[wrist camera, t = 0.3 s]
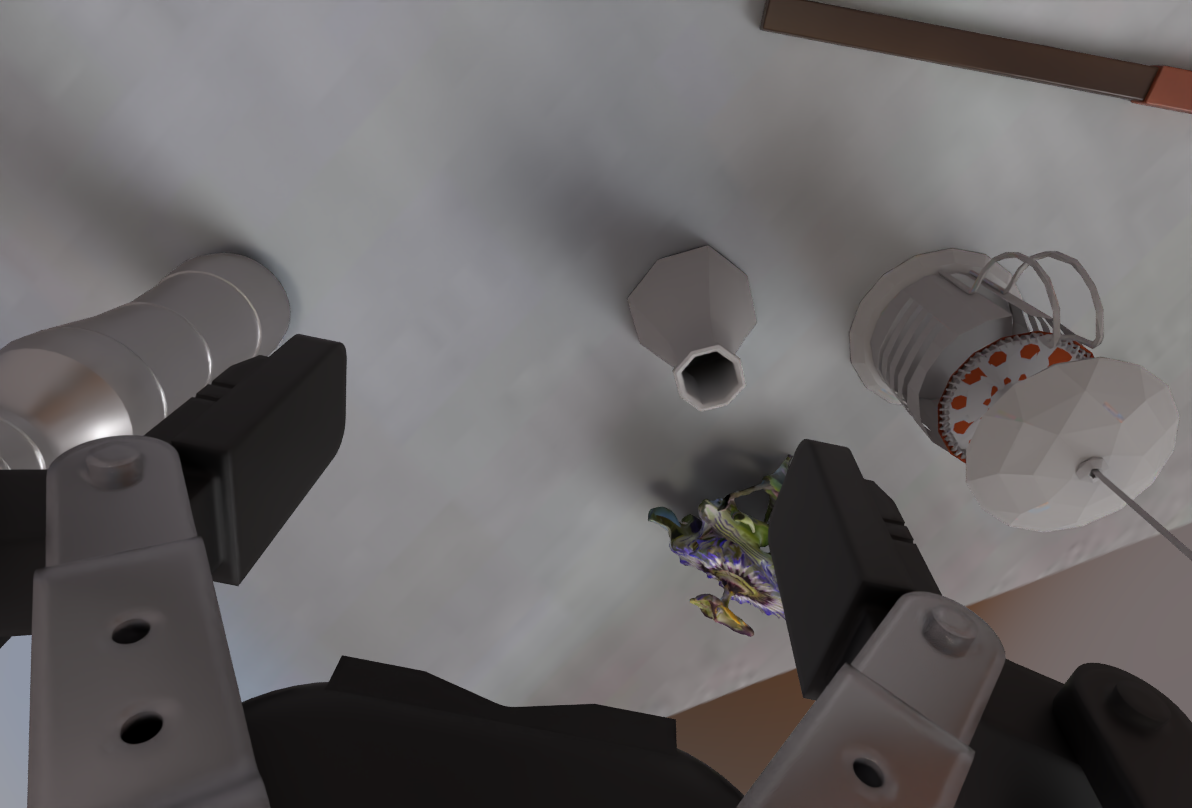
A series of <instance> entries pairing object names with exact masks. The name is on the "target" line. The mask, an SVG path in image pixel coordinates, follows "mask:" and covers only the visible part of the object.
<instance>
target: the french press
mask: <svg viewBox="0 0 1192 808" xmlns="http://www.w3.org/2000/svg"><path fill="white" fill-rule="evenodd" d="M1045 257H1051V258H1054V259H1057V260H1060V261H1063V262H1066V263H1069V264H1071V265H1072V266H1073V267H1074V268H1075V269H1076V270H1077V272H1078V273H1079V274H1080V275H1081V276H1082V278H1083V279H1084V281H1085V283H1086V285H1087V286H1088V288H1089V290H1090V292H1091V295H1092V299H1093V303H1094V306H1095V310H1096V338H1095V340H1094V341H1090V340H1087V339H1085V338H1083V337H1080V336H1078V335H1076V334H1074V333H1073V332H1071V331H1070V330H1069V329H1067V328H1066V327H1064V326H1063V325H1062V324H1060V307H1059V304H1058V301H1057V298H1056V295H1055V292H1054V289H1053V286H1052V283H1051V280H1050V277H1049V276H1048V275H1047V274H1046V272H1045V271H1044V270H1043V269H1042V267H1041V266H1040V265H1039V264H1038V262H1037V261H1036V260H1039V259H1042V258H1045ZM1005 258H1018V259H1020V260H1021V261H1023V262H1024V263H1023V264H1022V265H1021V266H1020V267H1019V268H1018V269H1017V271H1016V272H1015V274H1014V276H1013V277H1012V275H1011V273H1010V272H1009V271H1007V270H1006V269H1004V268H1003V267H1002V266H1000V265H999V264H998V263H996V262H997V261H1000V260H1002V259H1005ZM1029 265H1030V266H1032V267H1033V268H1034V270H1035V271H1036V273H1037V274H1038V276H1039V277H1040V278H1041V280H1042V281H1043V283H1044V284H1045V287H1046V291H1047V294H1048V297H1049V300H1050V304H1051V307H1052V310H1053V318H1051V317H1050V316H1048V315H1046V314H1045V313H1043V312H1041V311H1040V310H1038V309H1036V308H1035V307H1033V306H1031V305H1030V304H1028V303H1026V302H1025V301H1023V299H1022V297H1021V294H1020V292H1019V290H1018V288H1017V286H1016V284H1015V283H1016V281H1017V280H1018V278H1019V277H1020V276H1021V274H1022V273H1023V271H1024V270H1025V269H1026V268H1027V267H1028V266H1029ZM1023 311H1024V312H1026V313H1027V314H1028V317H1029V320H1030V322H1031V325H1032V328H1033V331H1034V332H1030V330H1029V327H1028V324H1027V321H1026V318H1025V316H1024V313H1023ZM1033 316H1036V317H1037V318H1038V320H1039V321H1040V322H1041V325H1042V328H1043V331H1044V332H1043V331H1039V328H1038V326H1037V323H1036V321H1035V318H1034V317H1033ZM1041 317H1042V318H1045V319H1046V321H1047V322H1048V323H1049V324H1050V326H1051V327H1052V328H1053V333H1050V331H1049V328H1048V326H1047V324H1046V323H1045V322H1044V320H1043V319H1042V318H1041ZM1060 329H1061V330H1062V331H1063V333H1064V334H1065V335H1062V334H1061V332H1060ZM849 337H850V351H851V363H852V365H853V366H854V368H855V370H856V372H857V373H858V375H859V377H860V378H861V380H862V382H863V383H864V385H865V387H866V388H868V389H869V390H871V391H873V392H874V393H876V394H877V395H879V396H880V397H882V398H883V399H885V400H886V401H888V402H889V403H894V404H900V405H904V407H905V409H906V410H907V411H908V412H909V413H910V415H912V416H913V418H914V420H915V421H916V423H917V424H918V425H919V426H920V427H921V429H922V430H923V431H924V432H925V433H926V435H927V436H928V437H929V438H930V439H931V441H932V442H934V443H935V444H937V445H938V446H940V447H942V448H943V449H945V450H946V451H948V452H950V454H952V455H953V456H955V457H956V458H958V459H959V460H961V461H963V462H964V463H966V483H967V485H968V486H969V488H970V490H971V492H972V493H973V495H974V497H975V498H976V500H977V502H978V503H979V505H980V507H981V508H982V509H983V510H984V511H986V512H987V513H989V514H991V515H992V516H994V517H995V518H997V519H998V520H1000V521H1001V522H1003V523H1005V524H1006V525H1008V526H1011V527H1016V528H1022V529H1028V530H1034V531H1039V532H1049V531H1056V530H1063V529H1069V528H1076V527H1082V526H1084V525H1086V524H1089V523H1091V522H1093V521H1096V520H1098V519H1100V518H1103V517H1105V516H1107V515H1109V514H1112V513H1114V512H1116V511H1119V510H1121V509H1122V508H1123V507H1124V506H1125V505H1127V504H1128V505H1129V506H1130V507H1131V508H1133V509H1134V510H1135V511H1136V512H1137V513H1138V514H1139V515H1141V516H1142V517H1143V518H1144V519H1145V520H1146V521H1147V522H1148V523H1150V524H1151V525H1152V526H1153V527H1154V528H1155V529H1156V530H1157V531H1159V532H1160V533H1161V534H1162V535H1163V536H1164V537H1166V538H1167V539H1168V540H1169V541H1170V542H1171V543H1172V544H1173V545H1175V546H1176V547H1177V548H1178V549H1179V550H1180V551H1181V552H1182V553H1184V554H1185V555H1186V556H1187V557H1188V558H1189V559H1190V560H1192V551H1191V550H1190V549H1188V548H1187V547H1186V546H1185V545H1184V544H1183V543H1181V542H1180V541H1179V540H1178V539H1177V538H1176V537H1175V536H1173V535H1172V534H1171V533H1170V532H1169V531H1168V530H1166V529H1165V528H1164V527H1163V526H1162V525H1161V524H1159V523H1158V522H1157V521H1156V520H1155V519H1154V518H1153V517H1151V516H1150V515H1149V514H1148V513H1147V512H1146V511H1144V510H1143V509H1142V508H1141V507H1140V506H1139V505H1138V504H1136V503H1135V502H1134V501H1133V499H1134V498H1135V497H1137V496H1138V495H1139V494H1140V493H1141V492H1143V491H1144V490H1145V489H1146V488H1148V487H1149V486H1150V485H1151V484H1152V483H1153V482H1154V480H1155V479H1156V477H1157V476H1158V474H1159V473H1160V471H1161V470H1162V468H1163V467H1164V465H1165V463H1166V462H1167V460H1168V459H1169V457H1170V456H1171V454H1172V453H1173V451H1174V446H1175V441H1176V435H1177V429H1178V424H1179V418H1180V415H1179V413H1178V410H1177V407H1176V404H1175V402H1174V399H1173V396H1172V394H1171V391H1170V388H1169V385H1167V384H1166V383H1164V382H1163V381H1162V380H1160V379H1159V378H1157V377H1156V376H1155V375H1153V374H1152V373H1150V372H1149V371H1148V370H1146V369H1145V368H1144V367H1142V366H1141V365H1138V364H1133V363H1128V362H1123V361H1119V360H1114V359H1109V358H1104V357H1096V358H1094V356H1093V354H1092V352H1090V351H1089V350H1087V349H1086V348H1085V347H1083V345H1082V344H1084V345H1086V346H1088V347H1090V348H1092V349H1093V348H1095V347H1097V346H1098V345H1100V344H1101V342H1102V340H1103V338H1104V324H1103V307H1102V304H1101V301H1100V298H1099V295H1098V291H1097V288H1096V286H1095V284H1094V283H1093V281H1092V280H1091V278H1090V277H1089V275H1088V273H1087V272H1086V270H1085V269H1084V268H1083V266H1082V265H1081V264H1080V263H1079V261H1078V260H1077V259H1074V258H1072V257H1070V256H1067V255H1065V254H1063V253H1061V252H1058V251H1048V252H1042V253H1039V254H1036V255H1033V256H1030V257H1028V256H1026V255H1024V254H1021V253H1019V252H1005V253H1003V254H1001V255H998V256H996V257H994V258H992V259H991V258H990V257H988V256H987V255H986V254H980V253H975V252H970V251H964V250H959V249H954V248H951V249H946V250H941V251H936V252H931V253H926V254H921V255H916V256H914V257H912V258H911V259H909V260H907V261H906V262H904V263H902V264H901V265H899V266H897V267H896V268H894V269H892V270H891V271H889V272H887V273H885V274H884V275H883V276H882V277H881V278H880V279H879V281H878V282H877V283H876V284H875V285H874V287H873V288H872V289H871V290H870V291H869V292H868V294H867V295H866V296H865V297H864V298H863V299H862V301H861V302H860V304H859V307H858V310H857V313H856V316H855V318H854V321H853V324H852V327H851V329H850V332H849ZM907 408H908V409H909V410H908V409H907ZM921 419H922V420H921ZM922 423H923V424H925V425H926V426H927V427H928V428H929V429H930V430H931V431H930V430H928V429H927V428H926V427H924V426H923V424H922Z"/></svg>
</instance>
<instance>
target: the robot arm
mask: <svg viewBox="0 0 1192 808" xmlns="http://www.w3.org/2000/svg"><path fill="white" fill-rule="evenodd" d="M346 365H347V355H346V349H345V346H344V345H343V343H341V342H336V341H331V340H326V339H321V338H316V337H311V336H306V335H301V334H296V335H294V336H293V337H292V338H291V339H289V340H288V341H287V342H286V343H285V344H284V345H282V346H281V347H280V348H279V349H278V350H277V351H275V352H274V353H273V354H272V355H271V356H269V357H267V356H263V355H258V356H256V357H253V358H250V359H248V360H245V361H242V362H240V363H237V364H234V365H231V366H230V367H229V368H227V369H226V370H225V371H224V372H222V373H221V374H220V375H219V376H217V377H216V378H215V379H214V380H212V383H211V384H207V385H206V386H205V387H204V388H202V389H201V390H200V391H199V392H197V393H196V397H191V398H190V399H189V400H187V401H186V402H185V403H184V404H182V405H181V406H180V407H179V408H177V409H176V410H175V411H174V412H172V413H171V414H170V415H169V416H167V417H166V418H165V419H164V420H162V421H161V422H160V423H159V424H157V425H156V426H155V427H154V428H152V429H151V430H150V431H148V432H147V433H146V434H145V435H143V436H139V435H120V436H110V437H104V438H99V439H95V440H91V441H88V442H85V443H82V444H79V445H77V446H75V447H73V448H70V449H69V450H67V451H65V452H64V453H62V454H61V455H59V456H58V457H57V458H56V459H55V460H54V461H53V462H52V463H51V464H50V466H49V468H48V469H12V470H0V648H1V647H2V646H3V645H4V644H5V643H6V642H7V641H8V640H9V639H10V638H11V636H21V635H32V646H31V685H30V724H29V726H30V727H29V760H28V799H27V808H1192V722H1191V721H1190V720H1189V719H1188V717H1187V716H1186V715H1185V714H1184V713H1183V712H1182V711H1181V710H1180V709H1179V707H1178V706H1177V705H1175V704H1174V703H1173V702H1172V701H1171V700H1170V699H1169V698H1168V697H1166V696H1165V695H1164V694H1162V693H1161V692H1160V691H1158V690H1157V689H1156V688H1154V687H1153V686H1151V685H1150V684H1148V683H1147V682H1145V681H1143V680H1142V679H1140V678H1138V677H1136V676H1134V675H1132V674H1130V673H1128V672H1126V671H1124V670H1121V669H1119V668H1116V667H1113V666H1110V665H1106V664H1100V663H1086V664H1083V665H1081V666H1079V667H1078V668H1077V669H1076V670H1075V671H1074V673H1073V674H1072V675H1071V676H1070V678H1069V679H1068V680H1067V682H1066V683H1065V684H1063V683H1060V682H1058V681H1056V680H1054V679H1051V678H1049V677H1046V676H1044V675H1041V674H1039V673H1037V672H1035V671H1032V670H1030V669H1028V668H1025V667H1023V666H1021V665H1018V664H1016V663H1014V662H1012V661H1009V660H1007V659H1006V658H1005V651H1004V648H1003V645H1002V643H1001V641H1000V639H999V638H998V637H997V635H996V633H995V632H994V631H993V630H992V628H990V626H989V625H988V624H987V623H986V622H985V621H983V619H981V618H980V617H979V616H978V615H976V614H975V613H974V612H973V611H971V610H969V609H968V608H966V607H965V606H963V605H961V604H960V603H958V602H956V601H954V600H951V599H949V598H947V597H944V596H942V594H941V592H940V590H939V588H938V586H937V584H936V582H935V581H934V579H933V577H932V575H931V573H930V571H929V569H928V567H927V565H926V563H925V561H924V559H923V557H922V555H921V553H920V551H919V549H918V547H917V545H916V544H913V538H912V536H911V534H910V532H909V530H908V528H907V526H904V523H905V522H904V520H903V518H902V516H901V514H900V512H899V510H898V508H897V506H896V504H895V502H894V501H893V500H892V499H891V498H890V497H889V496H888V495H887V494H886V493H885V492H884V491H883V490H882V489H881V488H880V487H879V486H878V485H877V484H876V483H875V482H874V481H871V480H866V479H864V478H863V476H862V474H861V472H860V470H859V468H858V466H857V463H856V461H855V459H854V457H853V455H852V453H851V451H850V449H849V448H847V447H843V446H838V445H833V444H828V443H823V442H819V441H814V440H809V439H804V440H802V441H801V443H800V444H799V445H798V447H797V449H796V451H795V454H794V456H793V459H792V461H791V464H790V466H789V469H788V471H787V474H786V477H785V479H784V482H783V484H782V487H781V489H780V492H779V494H778V497H777V499H776V502H775V504H774V507H773V510H772V513H771V516H770V521H769V528H768V543H769V548H770V553H771V557H772V562H773V566H774V570H775V575H776V579H777V584H778V588H779V593H780V597H781V601H782V606H783V610H784V615H785V619H786V624H787V628H788V632H789V637H790V641H791V646H792V650H793V655H794V659H795V663H796V668H797V672H798V677H799V681H800V685H801V690H802V694H803V698H807V699H812V700H816V702H815V703H814V704H813V705H812V707H811V708H810V710H809V711H808V712H807V714H806V715H805V716H804V718H803V719H802V720H801V722H800V723H799V724H798V725H797V727H796V728H795V730H794V731H793V732H792V733H791V735H790V736H789V738H788V739H787V740H786V741H785V743H784V744H783V746H782V747H781V748H780V750H779V751H778V752H777V754H776V755H775V756H774V757H773V759H772V760H771V761H770V763H769V764H768V766H767V767H766V768H765V769H764V771H763V772H762V773H761V775H760V776H759V778H758V779H757V780H756V781H755V783H754V784H753V785H752V787H751V788H750V790H749V791H748V792H747V794H746V795H745V796H744V795H743V794H742V793H741V792H740V791H739V790H738V789H737V788H736V787H734V786H733V785H732V784H731V783H730V782H729V781H728V780H727V779H725V778H724V777H723V776H722V775H720V774H719V773H718V772H716V771H715V770H714V769H712V768H711V767H709V766H708V765H706V764H705V763H703V762H702V761H700V760H698V759H696V758H695V757H693V756H691V755H690V754H688V753H686V752H684V751H682V750H679V749H677V744H676V720H675V719H671V718H665V717H660V716H655V715H650V714H645V713H639V712H634V711H629V710H624V709H619V708H613V707H608V706H603V705H598V704H580V705H555V706H531V707H507V706H502V705H499V704H497V703H495V702H492V701H490V700H488V699H486V698H483V697H481V696H479V695H477V694H474V693H472V692H470V691H468V690H465V689H463V688H461V687H459V686H457V685H454V684H452V683H450V682H448V681H445V680H443V679H441V678H439V677H436V676H434V675H432V674H430V673H428V672H425V671H421V670H415V669H410V668H405V667H400V666H395V665H389V664H384V663H379V662H374V661H369V660H363V659H358V658H353V657H348V656H343V655H342V657H341V659H340V661H339V663H338V665H337V667H336V669H335V671H334V673H333V675H332V677H331V679H330V681H329V682H319V683H311V684H304V685H297V686H292V687H288V688H283V689H279V690H275V691H271V692H269V693H266V694H263V695H260V696H257V697H254V698H251V699H249V700H246V701H244V702H241V698H240V694H239V689H238V685H237V681H236V677H235V673H234V668H233V664H232V660H231V656H230V651H229V647H228V643H227V639H226V634H225V630H224V626H223V622H222V618H221V613H220V609H219V605H218V601H217V596H216V592H215V588H214V584H213V581H214V582H220V583H225V584H230V585H235V586H239V584H240V583H241V582H242V580H243V579H244V578H245V576H246V575H247V574H248V572H249V571H250V570H251V568H252V567H253V566H254V564H255V563H256V562H257V560H258V559H259V558H260V556H261V555H262V554H263V552H264V551H265V550H266V548H267V547H268V546H269V544H270V543H271V541H272V540H273V539H274V537H275V536H276V535H277V533H278V532H279V531H280V529H281V528H282V527H283V525H284V524H285V523H286V521H287V520H288V519H289V517H290V516H291V515H292V513H293V512H294V511H295V509H296V508H297V507H298V505H299V504H300V503H301V501H302V500H303V498H304V497H305V496H306V494H307V493H308V492H309V490H310V489H311V488H312V486H313V485H314V484H315V482H316V481H317V480H318V478H319V477H320V476H321V474H322V473H323V472H324V470H325V469H326V468H327V466H328V465H329V464H330V462H331V461H332V460H333V458H334V457H335V455H336V453H337V452H338V449H339V447H340V445H341V442H342V438H343V434H344V429H345V418H346Z"/></svg>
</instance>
